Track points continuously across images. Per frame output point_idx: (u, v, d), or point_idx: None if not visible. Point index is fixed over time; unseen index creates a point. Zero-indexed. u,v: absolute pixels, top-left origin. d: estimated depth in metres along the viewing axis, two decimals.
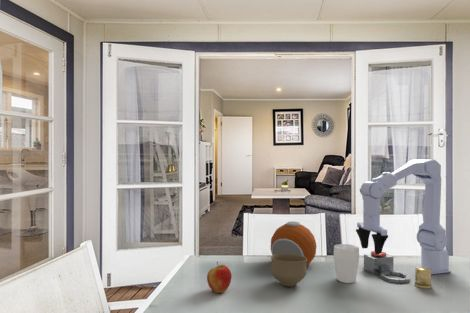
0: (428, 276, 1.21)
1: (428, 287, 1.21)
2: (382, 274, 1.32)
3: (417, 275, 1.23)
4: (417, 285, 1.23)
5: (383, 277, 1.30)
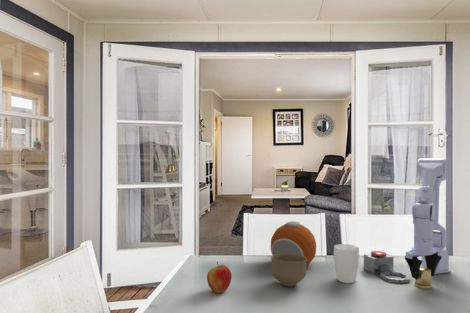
0: (428, 276, 1.21)
1: (428, 287, 1.21)
2: (382, 274, 1.32)
3: None
4: (417, 285, 1.23)
5: (383, 277, 1.30)
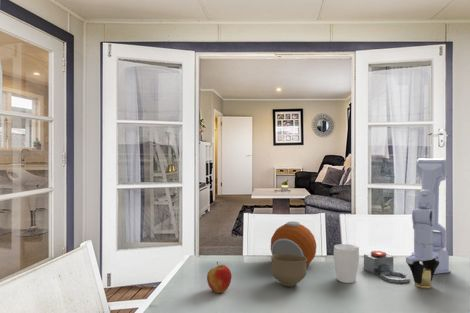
0: (428, 276, 1.21)
1: (428, 287, 1.21)
2: (382, 274, 1.32)
3: None
4: (417, 285, 1.23)
5: (383, 277, 1.30)
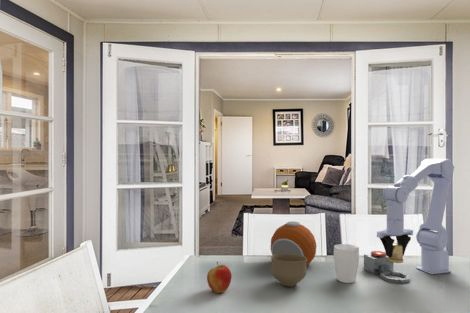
0: (399, 251, 1.28)
1: (399, 261, 1.28)
2: (382, 274, 1.32)
3: None
4: (389, 259, 1.30)
5: (383, 277, 1.30)
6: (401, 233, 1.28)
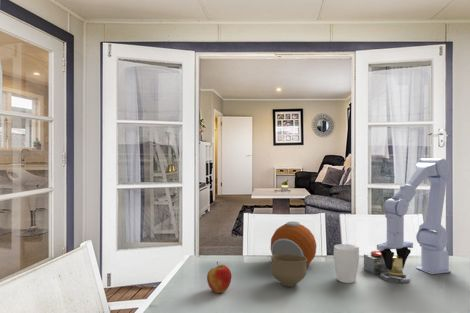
0: (399, 263, 1.28)
1: (399, 274, 1.28)
2: (382, 274, 1.32)
3: None
4: (389, 272, 1.30)
5: (383, 277, 1.30)
6: (401, 246, 1.28)
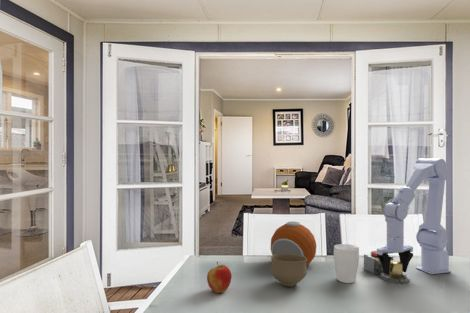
0: (399, 269, 1.28)
1: None
2: (382, 274, 1.32)
3: None
4: None
5: (383, 277, 1.30)
6: (401, 250, 1.28)
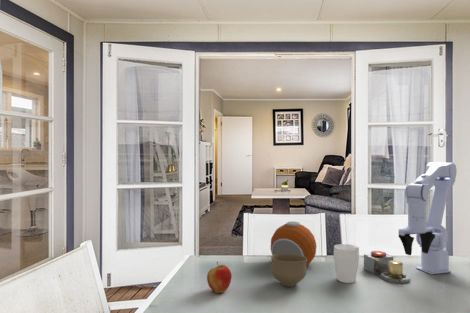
0: (399, 269, 1.29)
1: None
2: (382, 274, 1.32)
3: (389, 268, 1.30)
4: None
5: (383, 277, 1.30)
6: (423, 231, 1.27)
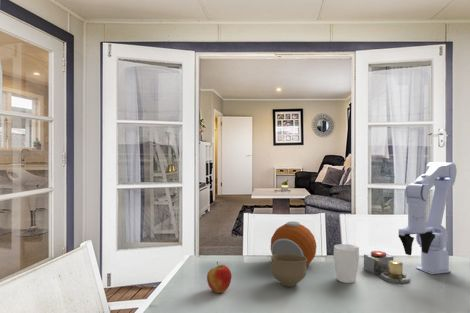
0: (399, 269, 1.28)
1: None
2: (382, 274, 1.32)
3: (389, 268, 1.30)
4: None
5: (383, 277, 1.30)
6: (423, 231, 1.27)
